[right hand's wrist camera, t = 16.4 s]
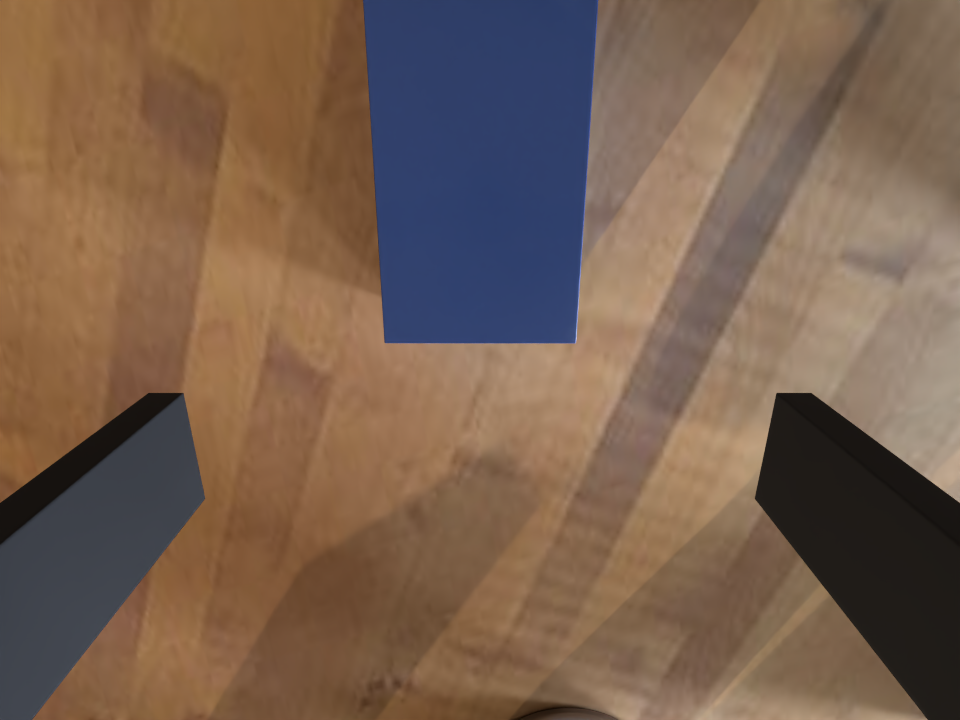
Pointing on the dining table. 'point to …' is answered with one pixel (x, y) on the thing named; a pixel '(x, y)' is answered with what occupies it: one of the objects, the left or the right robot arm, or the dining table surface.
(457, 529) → the dining table surface
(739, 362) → the dining table surface
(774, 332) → the dining table surface
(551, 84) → the cabinet
